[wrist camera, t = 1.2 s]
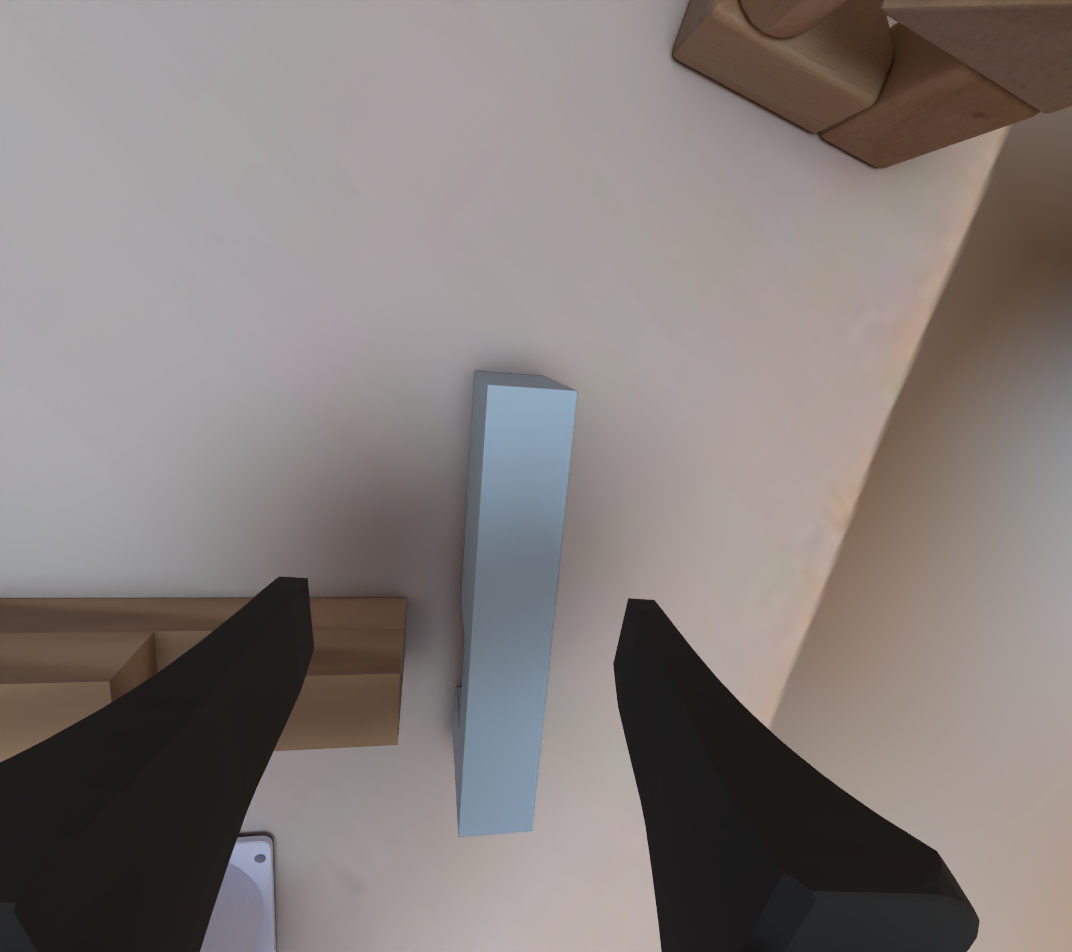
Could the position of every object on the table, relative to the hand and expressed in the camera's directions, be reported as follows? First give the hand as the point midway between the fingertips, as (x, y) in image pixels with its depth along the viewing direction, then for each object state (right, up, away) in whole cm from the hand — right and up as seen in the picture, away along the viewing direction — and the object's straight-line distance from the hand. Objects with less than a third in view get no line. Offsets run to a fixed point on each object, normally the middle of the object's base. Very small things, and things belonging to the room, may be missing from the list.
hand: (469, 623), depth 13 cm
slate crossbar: (0, -1, +14) cm, 14 cm away
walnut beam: (-14, -3, +12) cm, 19 cm away
